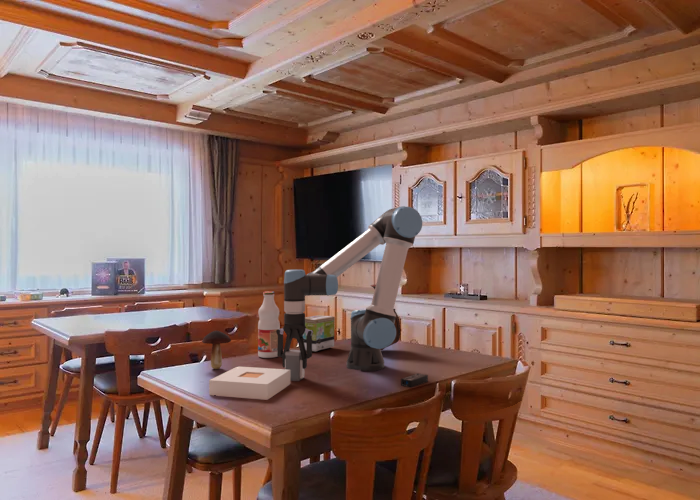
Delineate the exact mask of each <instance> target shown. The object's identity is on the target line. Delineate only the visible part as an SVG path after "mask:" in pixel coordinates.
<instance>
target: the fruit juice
mask: <svg viewBox="0 0 700 500" xmlns="http://www.w3.org/2000/svg"><path fill="white" fill-rule="evenodd" d="M262 295H263V301H262V304H261V306H260V307H259V308H258V311H257V313H258V319H259V320H258V323H257V355H258V357H259V358H263V359H272V358H279V357H278V355H277V351H278V336H277V333H276V330H278V329H281V328H280V327H281V324H280V320H279V318H280V308H279V307H278V305H277V304H276V302H275V291H268V290H267V291H263V293H262Z"/></svg>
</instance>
